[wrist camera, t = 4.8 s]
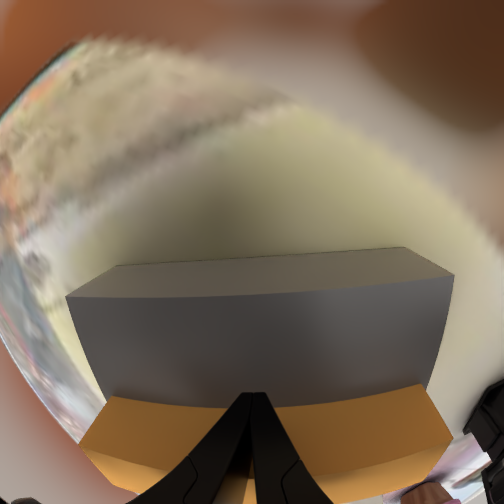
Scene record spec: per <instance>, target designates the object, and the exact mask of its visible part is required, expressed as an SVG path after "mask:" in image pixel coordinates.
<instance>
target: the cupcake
mask: <svg viewBox="0 0 504 504" xmlns="http://www.w3.org/2000/svg"><path fill="white" fill-rule="evenodd" d="M401 504H461V502H460V500H459V499H453V498H452V497H451V496H450V494H449V493H448V492H447V491H446V490H445V489H444V488H443V487H442V486H441V484H440V483H439V482H434V483H431V482H427V483H424V484H422V485H420V486H418V487H417V488H415V489H414V490H412V491H410V492H408V493H406V494H405V495H403V496H402V498H401Z"/></svg>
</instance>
